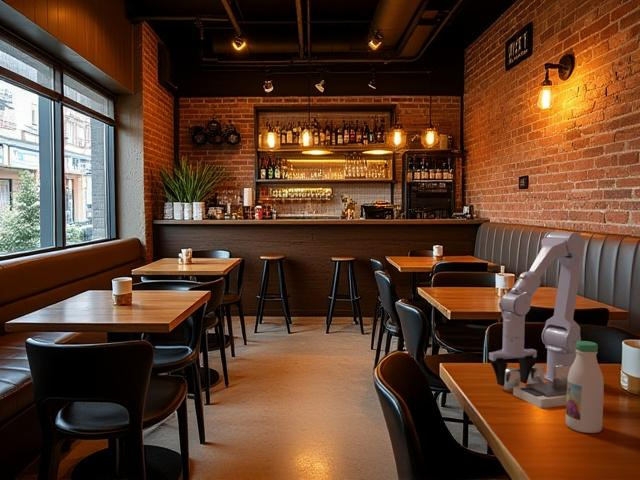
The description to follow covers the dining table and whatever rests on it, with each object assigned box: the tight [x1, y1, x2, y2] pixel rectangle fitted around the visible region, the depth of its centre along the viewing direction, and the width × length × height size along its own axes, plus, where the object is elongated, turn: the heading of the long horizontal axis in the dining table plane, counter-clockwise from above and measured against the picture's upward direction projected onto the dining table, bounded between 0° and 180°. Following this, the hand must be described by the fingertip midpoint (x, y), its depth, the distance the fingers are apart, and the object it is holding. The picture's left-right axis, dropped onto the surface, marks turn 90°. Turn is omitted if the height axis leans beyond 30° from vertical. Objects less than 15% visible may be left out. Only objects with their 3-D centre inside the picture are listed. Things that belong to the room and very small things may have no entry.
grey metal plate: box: [524, 381, 567, 396], centre depth 152 cm, size 11×8×1 cm
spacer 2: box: [527, 364, 546, 384], centre depth 163 cm, size 4×4×6 cm
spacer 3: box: [553, 364, 571, 389], centre depth 153 cm, size 4×4×6 cm
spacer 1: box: [503, 366, 522, 392], centre depth 160 cm, size 4×4×6 cm
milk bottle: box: [565, 340, 605, 434], centre depth 132 cm, size 8×8×20 cm
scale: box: [512, 384, 567, 409], centre depth 152 cm, size 14×11×2 cm
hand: (512, 383), depth 160 cm, fingers open, 7 cm apart
